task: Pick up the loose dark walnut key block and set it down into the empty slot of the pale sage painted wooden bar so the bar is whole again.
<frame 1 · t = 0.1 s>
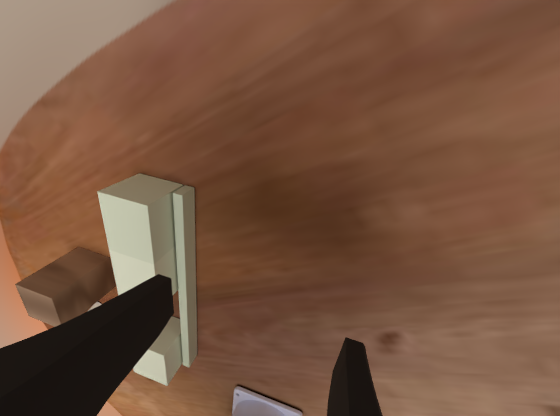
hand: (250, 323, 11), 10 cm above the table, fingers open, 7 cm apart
walnut key block: (97, 266, 29), on the table
sage bar: (168, 277, 27), on the table
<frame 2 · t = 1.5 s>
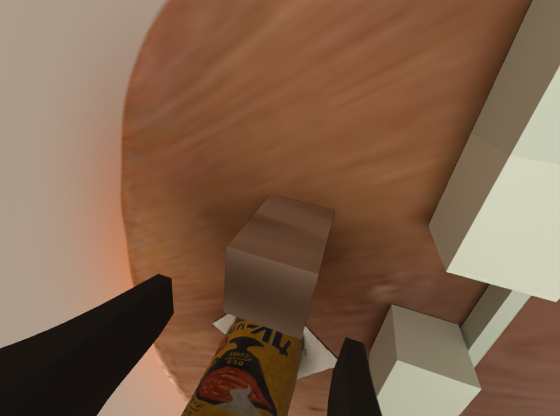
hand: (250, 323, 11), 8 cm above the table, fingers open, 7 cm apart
walnut key block: (296, 229, 17), on the table
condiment: (275, 338, 23), on the table
sage bar: (463, 243, 15), on the table
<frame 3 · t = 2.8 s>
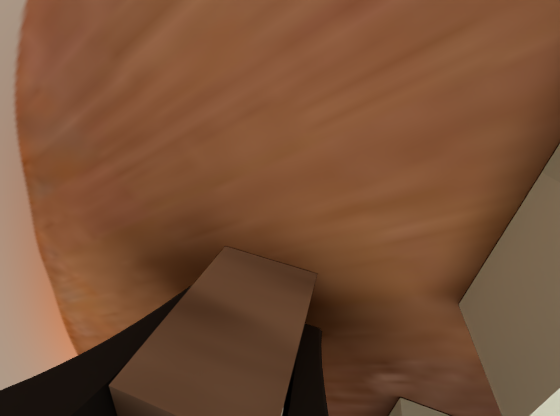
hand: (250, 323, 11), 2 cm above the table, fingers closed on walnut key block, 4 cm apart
walnut key block: (264, 294, 12), on the table, touching gripper
sage bar: (513, 333, 9), on the table
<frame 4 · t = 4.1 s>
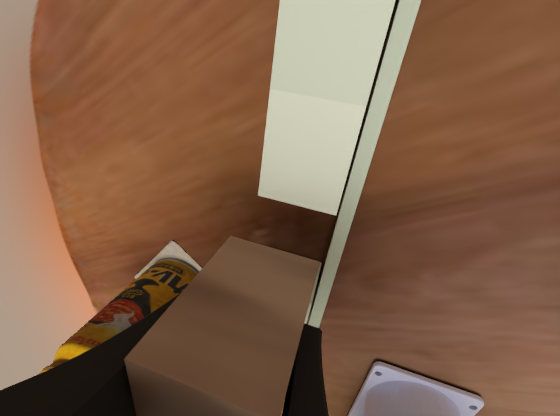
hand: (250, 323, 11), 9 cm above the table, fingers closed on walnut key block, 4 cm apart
walnut key block: (268, 283, 12), point 7 cm above the table, touching gripper
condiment: (188, 289, 25), on the table
sage bar: (309, 185, 17), on the table
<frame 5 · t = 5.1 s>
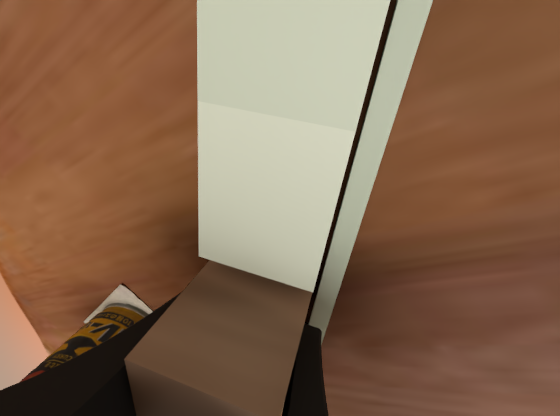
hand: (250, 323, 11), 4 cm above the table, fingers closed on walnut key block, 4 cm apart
walnut key block: (268, 283, 12), point 1 cm above the table, touching gripper
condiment: (147, 338, 21), on the table
sage bar: (284, 227, 13), on the table
when the fingers open (3 cm above the table, at t = 5.7 s): walnut key block stays where it is, on the table.
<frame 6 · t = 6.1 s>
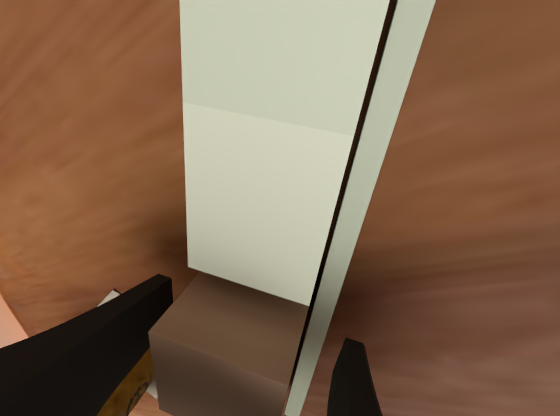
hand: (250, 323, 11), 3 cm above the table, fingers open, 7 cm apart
walnut key block: (274, 271, 13), on the table
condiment: (141, 345, 20), on the table
sage bar: (280, 233, 12), on the table
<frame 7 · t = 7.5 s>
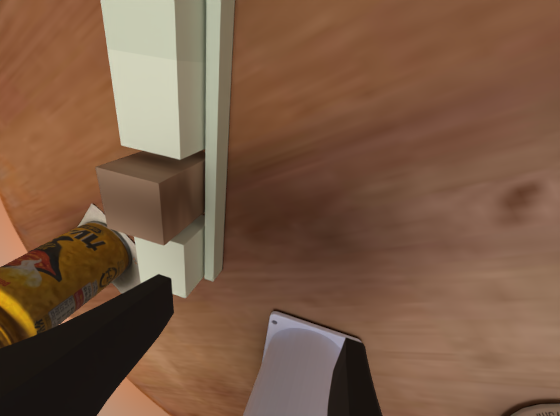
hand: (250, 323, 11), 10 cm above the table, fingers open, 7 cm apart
walnut key block: (190, 174, 21), on the table
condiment: (114, 252, 28), on the table
sage bar: (189, 145, 19), on the table
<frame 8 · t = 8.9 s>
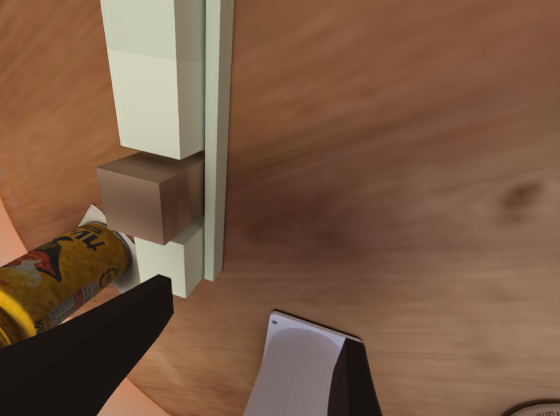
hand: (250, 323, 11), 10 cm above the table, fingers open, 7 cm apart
walnut key block: (190, 174, 21), on the table
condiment: (114, 252, 28), on the table
sage bar: (189, 145, 20), on the table
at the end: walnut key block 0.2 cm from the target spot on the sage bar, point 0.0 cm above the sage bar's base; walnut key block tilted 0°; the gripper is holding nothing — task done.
